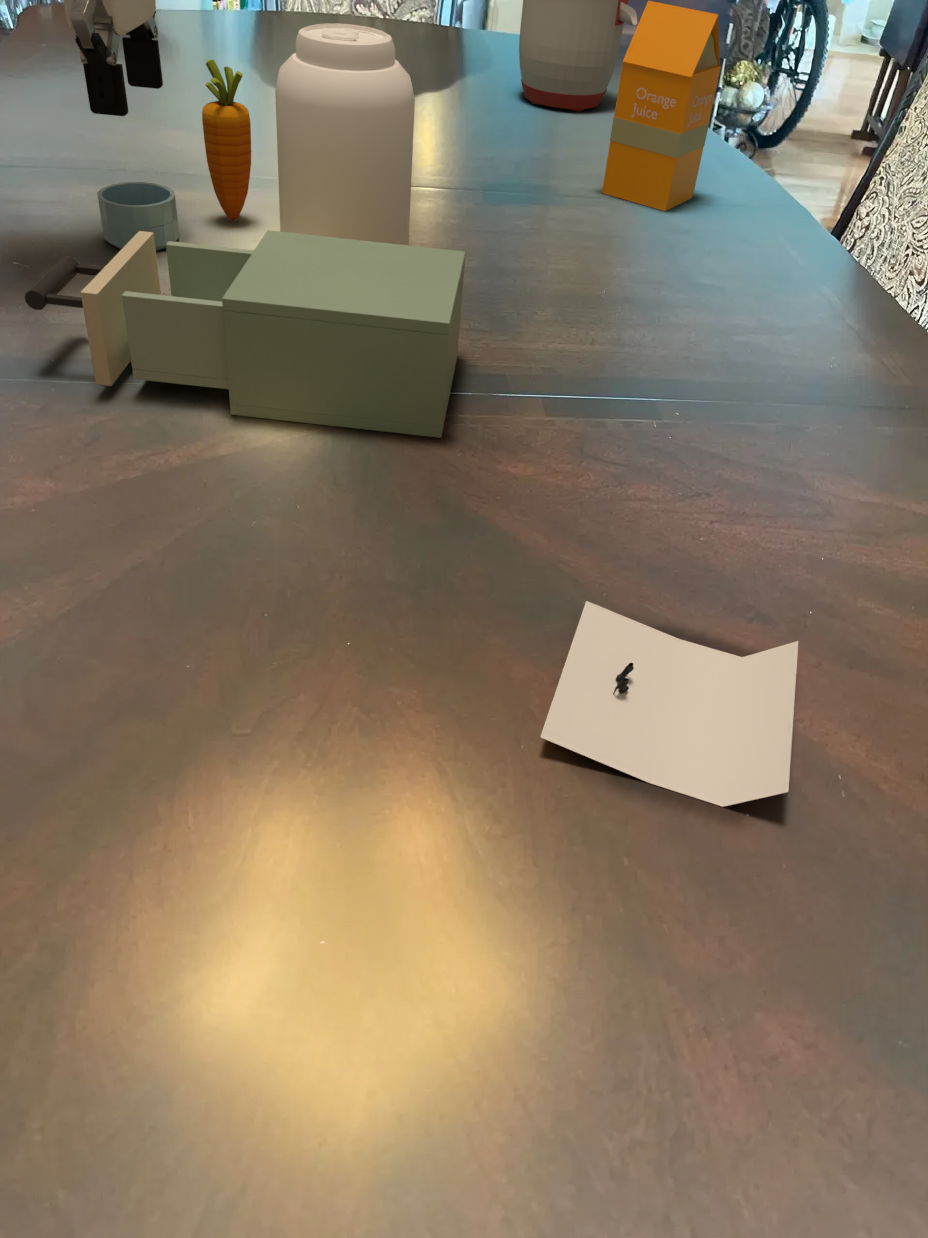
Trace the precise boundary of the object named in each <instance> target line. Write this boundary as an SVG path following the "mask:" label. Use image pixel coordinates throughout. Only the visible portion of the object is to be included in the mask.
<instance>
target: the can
mask: <svg viewBox="0 0 928 1238" xmlns="http://www.w3.org/2000/svg"><path fill="white" fill-rule="evenodd" d="M274 91H275V92H274V97H275V121H276V123H275V124H276V150H277V151H276V153H277V177H278V178H277V179H278V201H279V202H278V205H279V207H278V208H279V228H280V229H279V231H280V232H289V233H298V234H307V235H316V236H326V237H335V238H344V239H353V240H363V241H372V242H381V243H390V244H400V245H410V244H409V243H410V241H409V240H410V221H411V220H410V219H411V197H412V196H411V195H412V176H413V175H412V174H413V153H414V152H413V151H414V132H415V131H414V130H415V129H414V128H415V109H416V108H415V105H416V98H415V94H414V88H413V83H412V79H411V76H410V74H409V73H408V71H407V70H406V69H405V68H404V66H403V65H402V64H401V63H400V62H399V61H398V60H397V59H396V47H395V44H394V41H393V38H392V35H390V34H388V33H386V32H385V31H383V30H380V29H377V28H376V27H375V28H374V27H371V26H365V25H360V24H352V23H351V24H350V23H336V22H335V23H316V24H310V25H307V26H305V27H302V28H300V29H299V30H298V32H297V35H296V38H295V52H293V53H292V54H291V55H290V56H289V57H288V58H287V59H286V60H285V61H284V62H283V63H282V65H280V67H279V69H278V74H277V79H276V84H275V90H274Z"/></svg>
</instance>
